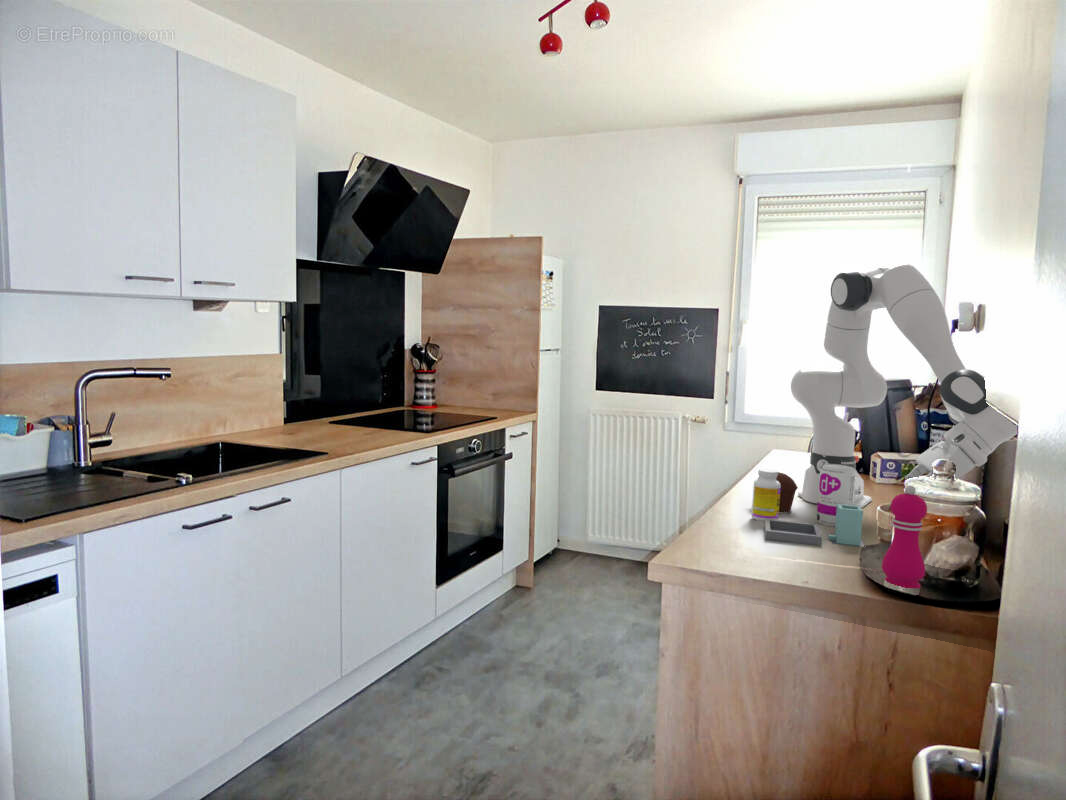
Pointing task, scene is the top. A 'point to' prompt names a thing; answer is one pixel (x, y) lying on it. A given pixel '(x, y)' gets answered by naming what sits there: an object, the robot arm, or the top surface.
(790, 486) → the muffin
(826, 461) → the robot arm
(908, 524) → the pepper mill
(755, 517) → the supplement bottle
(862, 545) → the square peg base
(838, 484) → the supplement can
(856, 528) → the collar
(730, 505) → the top surface
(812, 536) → the tray
